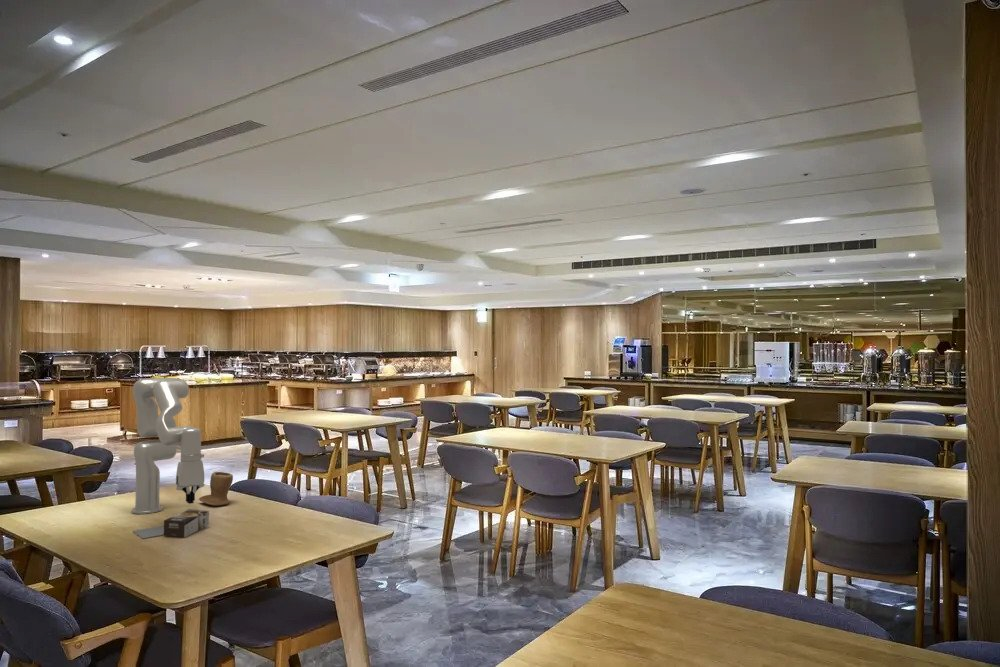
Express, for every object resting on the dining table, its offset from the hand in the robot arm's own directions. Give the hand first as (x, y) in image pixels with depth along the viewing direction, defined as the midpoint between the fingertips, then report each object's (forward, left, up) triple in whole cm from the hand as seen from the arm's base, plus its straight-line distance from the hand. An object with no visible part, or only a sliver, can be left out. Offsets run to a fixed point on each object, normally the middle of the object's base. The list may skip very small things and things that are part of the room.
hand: (190, 502), depth 268 cm
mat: (0, -10, -10) cm, 14 cm away
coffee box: (+3, +3, -6) cm, 7 cm away
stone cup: (-32, +23, -10) cm, 41 cm away
